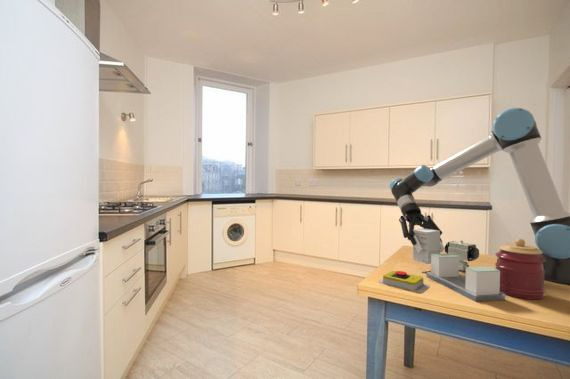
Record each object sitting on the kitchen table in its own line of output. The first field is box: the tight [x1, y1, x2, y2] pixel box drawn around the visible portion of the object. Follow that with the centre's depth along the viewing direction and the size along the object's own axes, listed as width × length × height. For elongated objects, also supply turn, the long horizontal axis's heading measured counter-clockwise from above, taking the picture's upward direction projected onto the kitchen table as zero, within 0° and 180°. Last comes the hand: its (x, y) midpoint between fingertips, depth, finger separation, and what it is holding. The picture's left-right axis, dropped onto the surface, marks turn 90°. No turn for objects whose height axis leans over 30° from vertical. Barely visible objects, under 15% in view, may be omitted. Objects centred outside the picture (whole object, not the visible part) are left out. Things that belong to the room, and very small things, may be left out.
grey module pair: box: [430, 253, 500, 295], centre depth 103 cm, size 22×8×7 cm, turn 9°
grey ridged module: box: [412, 228, 441, 265], centre depth 122 cm, size 7×7×13 cm
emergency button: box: [378, 270, 431, 294], centre depth 106 cm, size 9×4×15 cm
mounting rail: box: [426, 271, 506, 303], centre depth 103 cm, size 24×10×2 cm, turn 9°
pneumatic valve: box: [444, 239, 480, 272], centre depth 124 cm, size 6×12×12 cm, turn 32°
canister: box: [494, 238, 546, 300], centre depth 99 cm, size 13×13×18 cm
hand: (431, 250), depth 119 cm, fingers closed on grey ridged module, 9 cm apart
